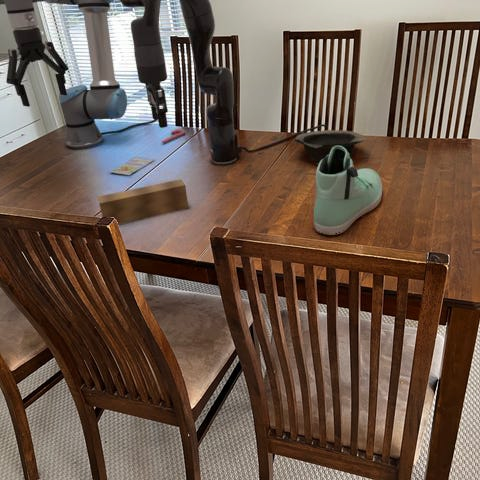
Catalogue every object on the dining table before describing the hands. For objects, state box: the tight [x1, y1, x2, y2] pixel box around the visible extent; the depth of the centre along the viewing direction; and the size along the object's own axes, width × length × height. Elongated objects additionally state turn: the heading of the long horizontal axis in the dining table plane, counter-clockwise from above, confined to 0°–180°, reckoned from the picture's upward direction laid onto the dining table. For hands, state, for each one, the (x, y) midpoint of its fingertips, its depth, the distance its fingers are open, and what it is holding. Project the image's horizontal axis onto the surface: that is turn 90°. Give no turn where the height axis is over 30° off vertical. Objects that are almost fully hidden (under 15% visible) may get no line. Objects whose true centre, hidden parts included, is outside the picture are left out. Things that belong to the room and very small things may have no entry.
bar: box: [97, 178, 190, 225], centre depth 143 cm, size 25×5×8 cm, turn 111°
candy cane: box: [161, 128, 186, 144], centre depth 202 cm, size 6×15×2 cm, turn 145°
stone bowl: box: [294, 129, 367, 165], centre depth 171 cm, size 25×25×9 cm
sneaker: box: [313, 146, 383, 236], centre depth 133 cm, size 14×35×20 cm, turn 152°
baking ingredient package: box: [110, 157, 154, 176], centre depth 178 cm, size 9×1×15 cm
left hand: (45, 100), depth 152 cm, fingers open, 13 cm apart
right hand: (160, 122), depth 133 cm, fingers open, 8 cm apart
